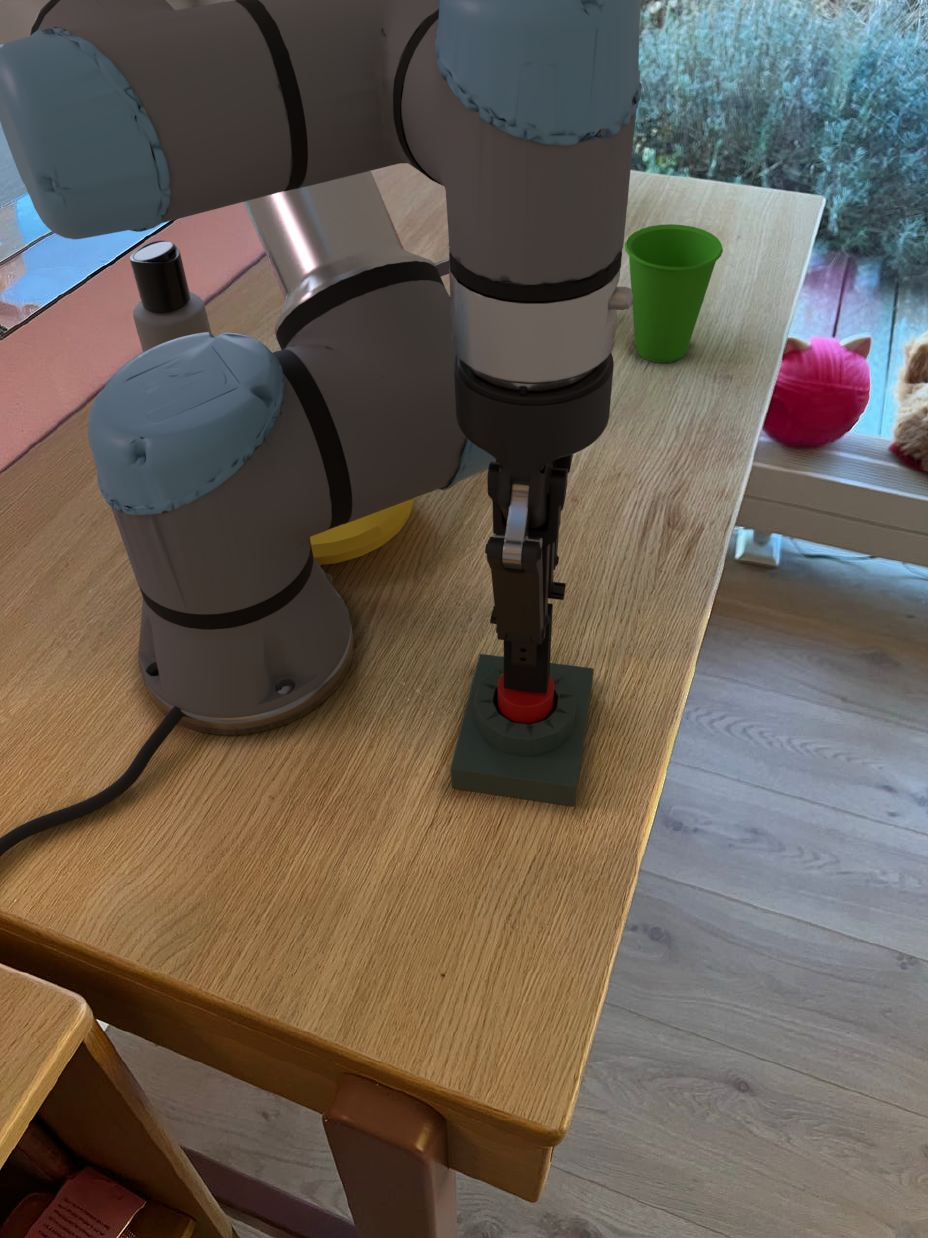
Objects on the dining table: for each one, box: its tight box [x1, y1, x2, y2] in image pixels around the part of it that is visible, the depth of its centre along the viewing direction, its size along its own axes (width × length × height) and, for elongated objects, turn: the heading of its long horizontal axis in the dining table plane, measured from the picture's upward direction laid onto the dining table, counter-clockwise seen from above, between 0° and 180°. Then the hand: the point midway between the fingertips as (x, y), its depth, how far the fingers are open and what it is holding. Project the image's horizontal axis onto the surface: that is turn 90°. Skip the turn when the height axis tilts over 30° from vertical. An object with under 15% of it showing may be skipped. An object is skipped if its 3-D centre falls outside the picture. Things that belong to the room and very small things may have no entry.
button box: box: [450, 653, 595, 807], centre depth 66 cm, size 10×8×4 cm
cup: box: [624, 223, 724, 364], centre depth 98 cm, size 9×9×11 cm
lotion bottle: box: [129, 239, 213, 353], centre depth 83 cm, size 6×6×20 cm
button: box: [498, 673, 554, 724], centre depth 64 cm, size 4×4×2 cm
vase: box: [310, 498, 415, 566], centre depth 81 cm, size 16×16×7 cm
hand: (526, 682), depth 63 cm, fingers closed
